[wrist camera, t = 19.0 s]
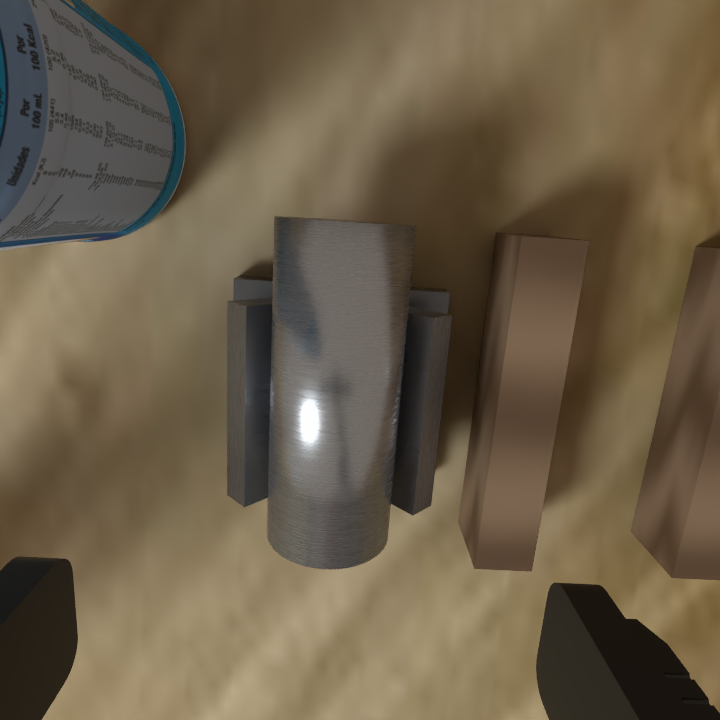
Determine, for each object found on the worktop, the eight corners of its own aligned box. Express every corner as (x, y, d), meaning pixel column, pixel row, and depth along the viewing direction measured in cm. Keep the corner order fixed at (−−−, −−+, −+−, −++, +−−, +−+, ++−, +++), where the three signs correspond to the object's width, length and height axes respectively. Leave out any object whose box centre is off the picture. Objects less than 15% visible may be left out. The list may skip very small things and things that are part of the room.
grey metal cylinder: (378, 499, 24) (397, 568, 19) (270, 499, 23) (262, 569, 19) (402, 224, 21) (430, 227, 16) (277, 215, 20) (270, 217, 16)
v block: (425, 475, 26) (440, 527, 21) (237, 466, 25) (214, 516, 21) (445, 289, 23) (466, 306, 19) (238, 276, 23) (213, 290, 19)
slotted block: (680, 534, 27) (727, 580, 23) (458, 523, 26) (474, 568, 23) (752, 250, 23) (821, 256, 20) (496, 232, 23) (521, 236, 19)
